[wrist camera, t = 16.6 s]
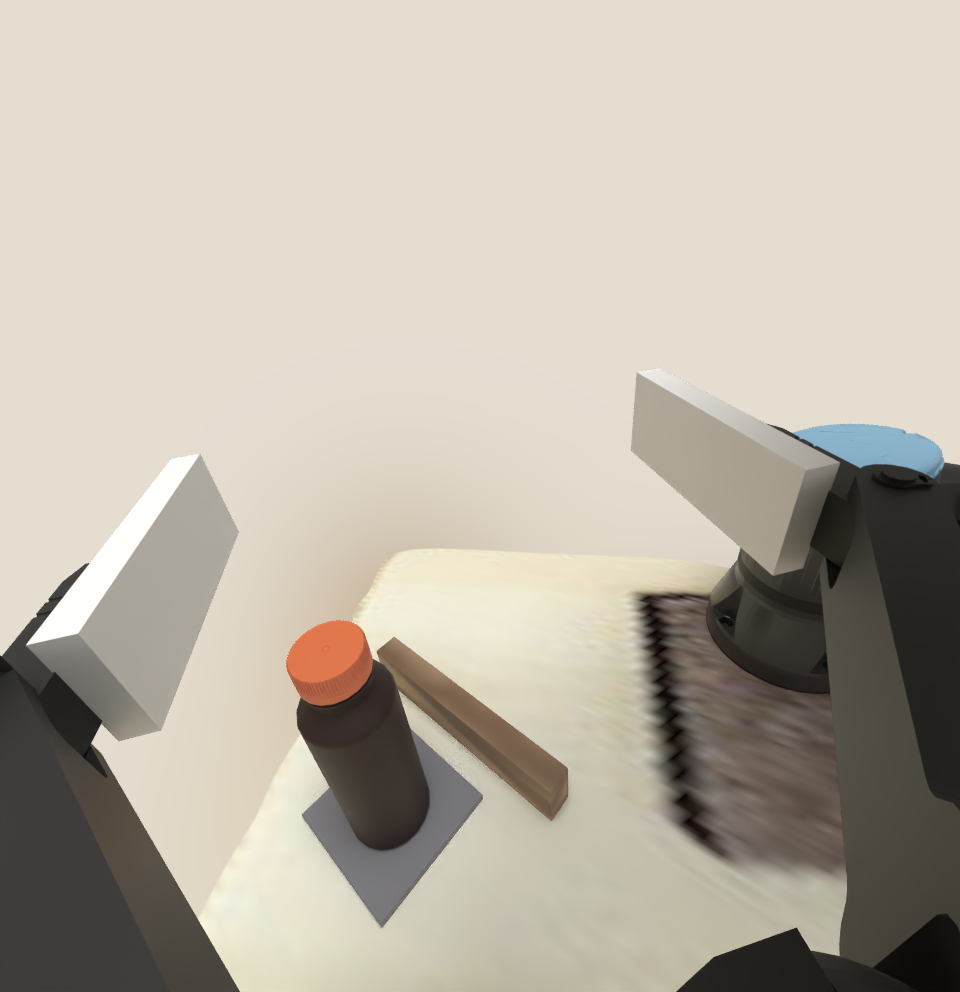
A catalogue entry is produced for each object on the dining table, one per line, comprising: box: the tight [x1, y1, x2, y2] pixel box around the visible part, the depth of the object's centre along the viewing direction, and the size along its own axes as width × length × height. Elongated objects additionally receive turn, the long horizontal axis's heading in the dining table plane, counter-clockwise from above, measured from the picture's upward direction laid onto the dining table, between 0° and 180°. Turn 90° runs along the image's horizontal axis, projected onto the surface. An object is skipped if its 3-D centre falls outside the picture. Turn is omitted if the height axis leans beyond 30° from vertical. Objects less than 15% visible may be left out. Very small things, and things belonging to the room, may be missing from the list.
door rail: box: [377, 637, 568, 821], centre depth 44 cm, size 2×22×4 cm, turn 48°
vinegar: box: [286, 621, 429, 850], centre depth 34 cm, size 7×7×20 cm
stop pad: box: [302, 729, 483, 927], centre depth 40 cm, size 11×11×1 cm
